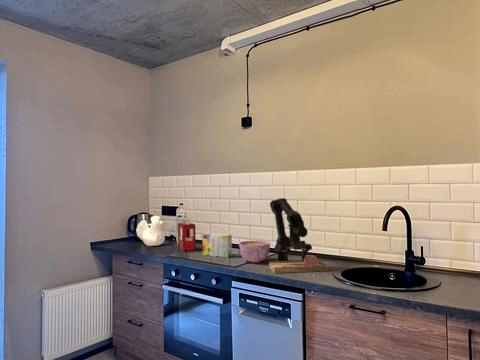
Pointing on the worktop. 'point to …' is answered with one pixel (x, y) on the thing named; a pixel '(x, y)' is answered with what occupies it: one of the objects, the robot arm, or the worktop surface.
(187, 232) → the cleaning product box
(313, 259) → the block
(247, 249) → the bowl of food
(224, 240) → the snack box
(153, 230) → the decorative rooster
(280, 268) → the box
